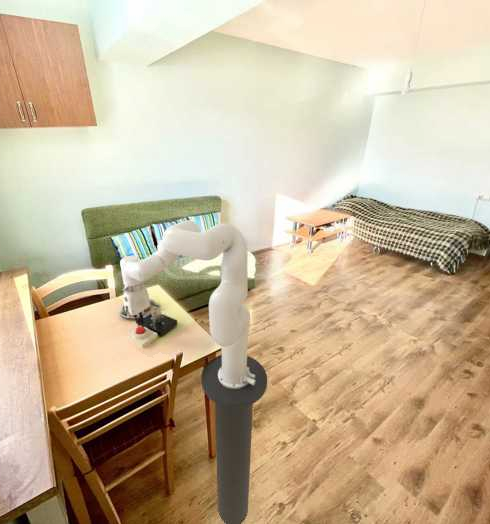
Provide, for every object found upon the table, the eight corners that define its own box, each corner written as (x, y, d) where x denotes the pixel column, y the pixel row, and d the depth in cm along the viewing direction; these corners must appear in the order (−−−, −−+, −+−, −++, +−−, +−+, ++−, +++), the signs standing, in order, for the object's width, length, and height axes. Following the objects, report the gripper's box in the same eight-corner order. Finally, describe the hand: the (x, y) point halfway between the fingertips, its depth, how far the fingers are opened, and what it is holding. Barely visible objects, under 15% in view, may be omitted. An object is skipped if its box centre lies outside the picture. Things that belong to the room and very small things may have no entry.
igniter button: (146, 331, 122) (146, 327, 122) (140, 335, 120) (140, 332, 119) (141, 328, 124) (140, 325, 123) (134, 332, 121) (134, 329, 121)
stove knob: (157, 317, 134) (156, 307, 132) (163, 320, 132) (162, 310, 130) (150, 321, 131) (149, 312, 129) (157, 324, 128) (156, 315, 126)
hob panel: (177, 324, 133) (177, 319, 132) (161, 336, 124) (160, 332, 123) (154, 315, 140) (154, 310, 139) (138, 326, 132) (137, 321, 131)
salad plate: (164, 300, 152) (163, 293, 149) (155, 321, 136) (154, 313, 134) (129, 299, 153) (128, 292, 150) (116, 320, 137) (115, 312, 135)
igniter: (158, 337, 124) (157, 330, 122) (142, 348, 117) (141, 341, 115) (140, 329, 129) (139, 322, 128) (125, 340, 122) (124, 332, 121)
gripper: (125, 296, 105) (132, 335, 112) (153, 280, 117) (158, 317, 124) (112, 291, 109) (120, 330, 116) (141, 277, 121) (146, 313, 128)
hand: (140, 323), depth 120 cm, fingers closed
